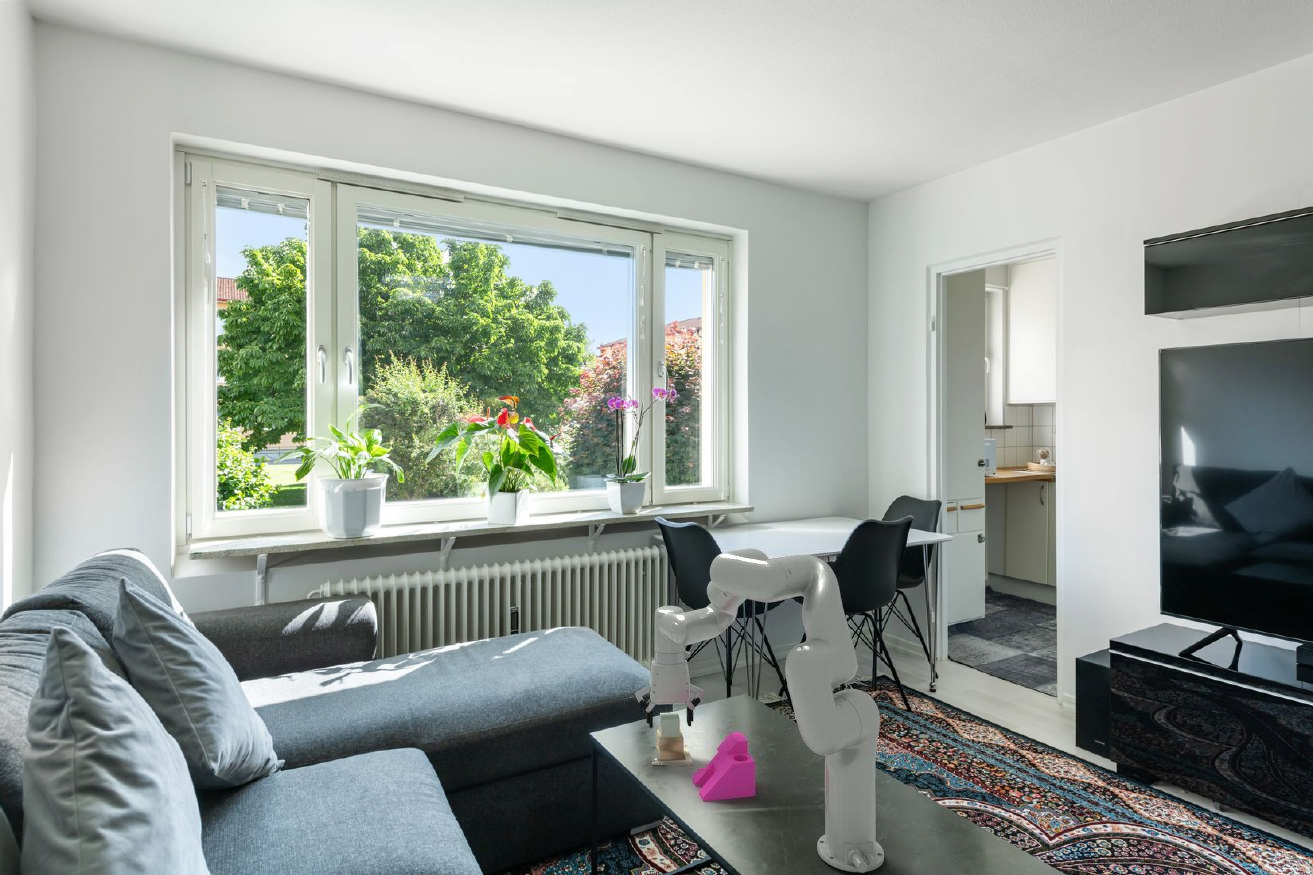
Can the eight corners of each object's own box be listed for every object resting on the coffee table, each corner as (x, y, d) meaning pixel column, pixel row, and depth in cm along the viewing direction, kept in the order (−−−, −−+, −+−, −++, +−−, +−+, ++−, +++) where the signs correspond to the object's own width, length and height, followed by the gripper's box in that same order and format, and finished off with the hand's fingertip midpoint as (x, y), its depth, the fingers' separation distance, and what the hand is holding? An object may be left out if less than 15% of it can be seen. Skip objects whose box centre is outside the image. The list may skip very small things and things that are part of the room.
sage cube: (679, 737, 178) (679, 719, 178) (661, 738, 177) (661, 719, 177) (677, 729, 182) (677, 712, 182) (659, 730, 182) (659, 712, 182)
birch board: (692, 766, 175) (692, 761, 175) (652, 768, 174) (652, 763, 174) (686, 748, 185) (686, 744, 185) (648, 750, 184) (648, 746, 184)
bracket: (741, 775, 171) (740, 732, 171) (755, 796, 161) (754, 750, 161) (692, 780, 168) (691, 736, 169) (703, 801, 158) (702, 754, 158)
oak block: (680, 748, 183) (680, 728, 183) (683, 758, 177) (683, 738, 177) (657, 749, 182) (657, 729, 182) (659, 759, 176) (659, 739, 176)
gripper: (701, 651, 185) (701, 717, 184) (634, 653, 183) (634, 720, 183) (706, 660, 177) (706, 729, 177) (636, 662, 175) (636, 732, 175)
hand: (669, 725), depth 180 cm, fingers open, 9 cm apart
